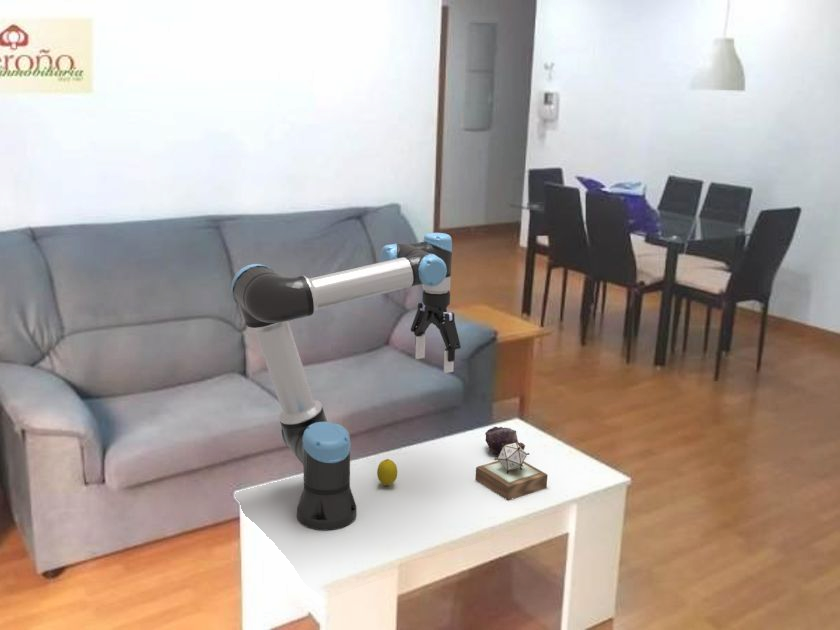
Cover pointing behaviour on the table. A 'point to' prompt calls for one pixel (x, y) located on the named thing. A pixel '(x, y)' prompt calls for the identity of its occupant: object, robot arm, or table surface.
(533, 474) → the framed mirror
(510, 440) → the rock
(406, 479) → the table surface
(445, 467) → the table surface
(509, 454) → the game die
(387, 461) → the lemon
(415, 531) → the table surface
